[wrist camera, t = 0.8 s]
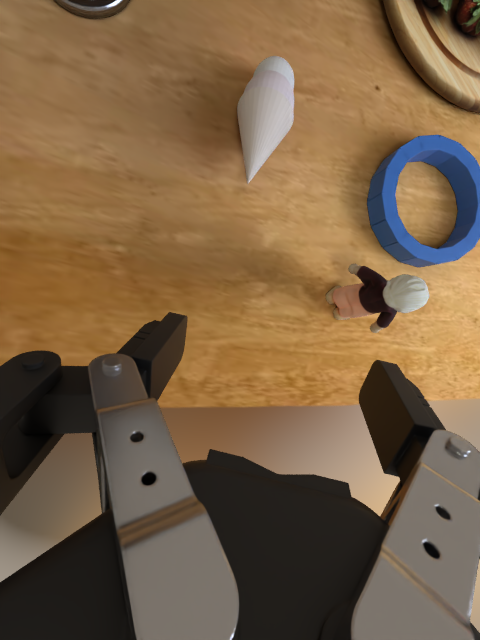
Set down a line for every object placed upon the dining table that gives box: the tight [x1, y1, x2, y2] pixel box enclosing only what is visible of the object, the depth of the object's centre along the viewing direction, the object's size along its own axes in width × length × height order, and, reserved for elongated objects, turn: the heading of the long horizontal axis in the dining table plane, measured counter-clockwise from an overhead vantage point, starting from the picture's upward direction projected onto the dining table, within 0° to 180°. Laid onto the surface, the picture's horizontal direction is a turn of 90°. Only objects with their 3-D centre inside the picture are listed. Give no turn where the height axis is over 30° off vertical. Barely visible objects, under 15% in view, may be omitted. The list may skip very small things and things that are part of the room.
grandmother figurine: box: [326, 264, 429, 333], centre depth 30 cm, size 8×4×13 cm, turn 36°
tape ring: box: [367, 135, 480, 267], centre depth 37 cm, size 16×16×3 cm
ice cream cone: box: [237, 56, 294, 184], centre depth 30 cm, size 6×6×15 cm
